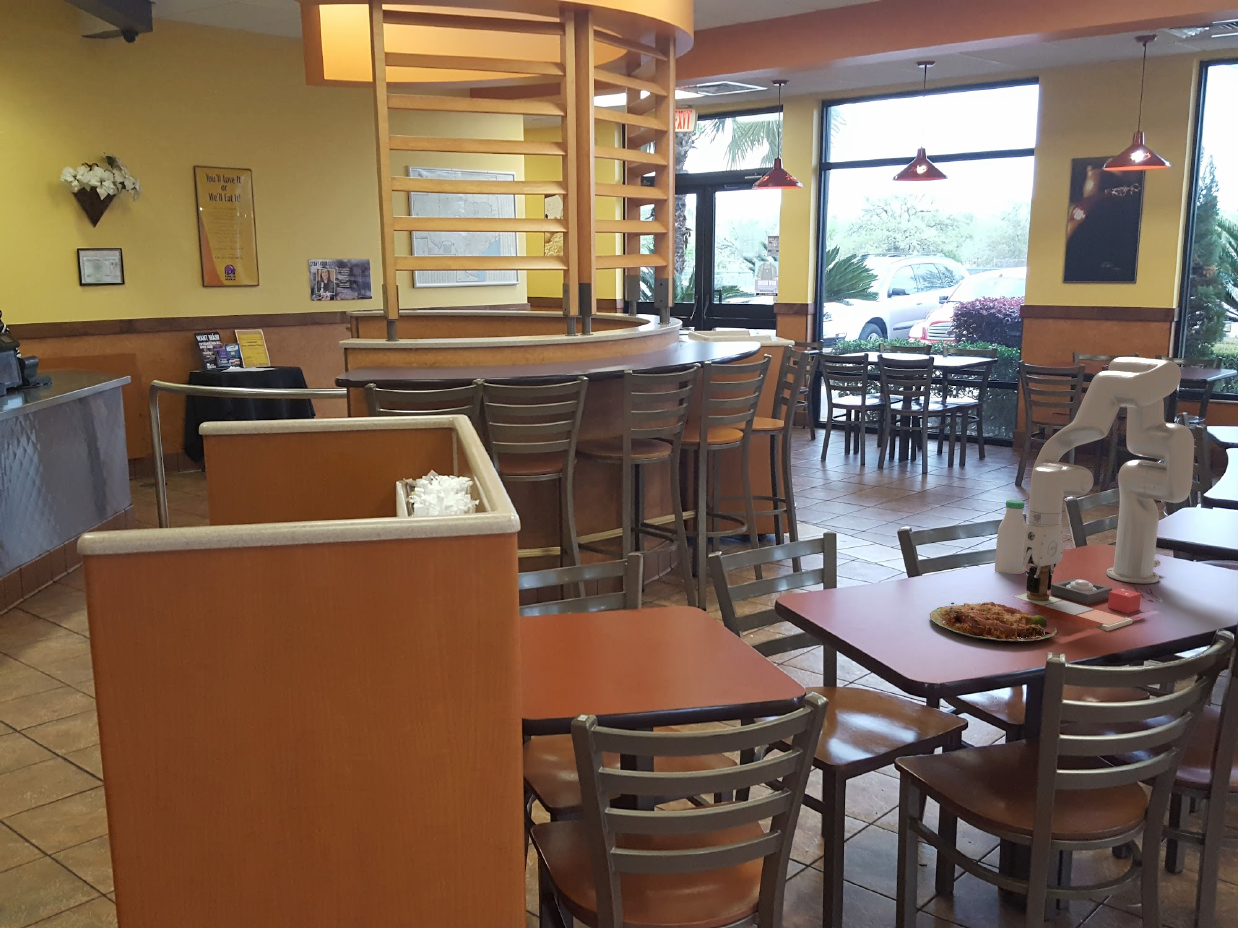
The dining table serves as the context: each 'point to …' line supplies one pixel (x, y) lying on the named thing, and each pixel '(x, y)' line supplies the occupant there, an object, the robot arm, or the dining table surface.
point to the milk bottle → (1011, 539)
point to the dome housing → (1080, 592)
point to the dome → (1081, 586)
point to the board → (1072, 608)
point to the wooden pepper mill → (1041, 585)
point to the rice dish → (991, 622)
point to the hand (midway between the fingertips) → (1038, 589)
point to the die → (1124, 600)
